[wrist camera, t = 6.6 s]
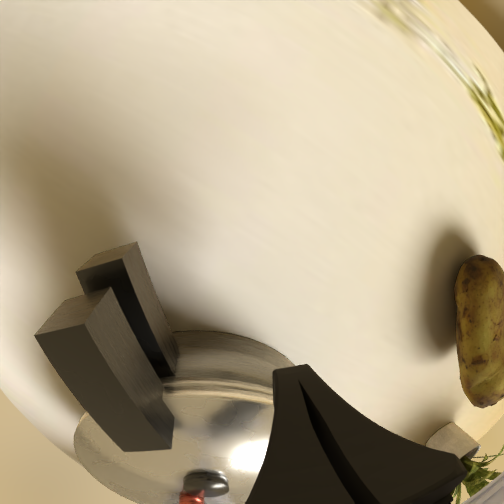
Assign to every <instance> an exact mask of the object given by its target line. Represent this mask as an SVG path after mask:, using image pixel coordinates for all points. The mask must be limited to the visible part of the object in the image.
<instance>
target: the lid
mask: <svg viewBox="0 0 504 504" xmlns="http://www.w3.org/2000/svg"><path fill="white" fill-rule="evenodd" d="M34 336H35V338H36V339H37V341H38V343H39V345H40V346H41V348H42V349H43V351H44V353H45V354H46V356H47V357H48V359H49V361H50V362H51V364H52V365H53V367H54V368H55V370H56V371H57V373H58V374H59V375H60V377H61V378H62V380H63V381H64V383H65V384H66V385H67V387H68V388H69V389H70V391H71V392H72V393H73V395H74V396H75V397H76V399H77V400H78V401H79V402H80V404H81V405H82V406H83V407H84V409H85V410H86V412H85V413H84V414H83V416H82V417H81V419H80V421H79V424H78V426H77V429H76V432H75V434H74V448H75V452H76V454H77V456H78V458H79V460H80V462H81V463H82V464H83V466H84V467H85V469H86V470H87V471H88V472H89V473H90V474H91V475H92V476H93V477H94V478H95V479H97V480H98V481H99V482H100V483H102V484H103V485H104V486H106V487H107V488H109V489H110V490H112V491H114V492H116V493H117V494H119V495H121V496H123V497H125V498H127V499H129V500H131V501H133V502H136V503H139V504H245V502H246V501H247V499H248V497H249V495H250V492H251V490H252V488H253V485H254V483H255V481H256V478H257V476H258V474H259V471H260V468H261V465H262V462H263V459H264V456H265V453H266V449H267V446H268V442H269V438H270V433H271V428H272V422H273V416H274V405H273V396H269V395H265V394H261V393H256V392H249V391H243V390H237V389H227V388H216V387H194V386H177V387H164V386H163V384H162V382H161V381H160V379H159V378H158V376H157V374H156V373H155V371H154V369H153V367H152V366H151V364H150V362H149V361H148V359H147V357H146V355H145V353H144V352H143V350H142V348H141V346H140V344H139V343H138V341H137V339H136V337H135V335H134V333H133V331H132V329H131V327H130V325H129V323H128V321H127V319H126V317H125V315H124V313H123V311H122V309H121V307H120V305H119V303H118V301H117V299H116V297H115V294H114V292H113V290H112V288H111V287H108V288H105V289H101V290H98V291H95V292H91V293H88V294H85V295H81V296H78V297H75V298H72V299H68V300H65V301H64V302H63V303H62V304H61V305H60V306H59V308H58V309H57V310H56V311H55V312H54V313H53V314H52V315H51V317H50V318H49V319H48V320H47V321H46V322H45V323H44V325H43V326H42V327H41V328H40V329H39V330H38V332H37V333H36V334H35V335H34Z"/></svg>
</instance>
